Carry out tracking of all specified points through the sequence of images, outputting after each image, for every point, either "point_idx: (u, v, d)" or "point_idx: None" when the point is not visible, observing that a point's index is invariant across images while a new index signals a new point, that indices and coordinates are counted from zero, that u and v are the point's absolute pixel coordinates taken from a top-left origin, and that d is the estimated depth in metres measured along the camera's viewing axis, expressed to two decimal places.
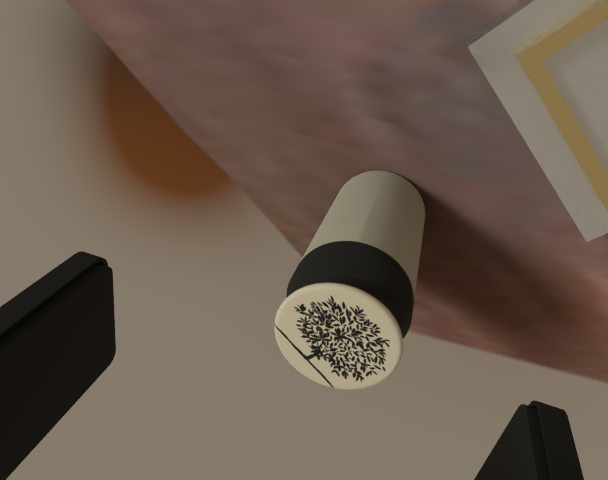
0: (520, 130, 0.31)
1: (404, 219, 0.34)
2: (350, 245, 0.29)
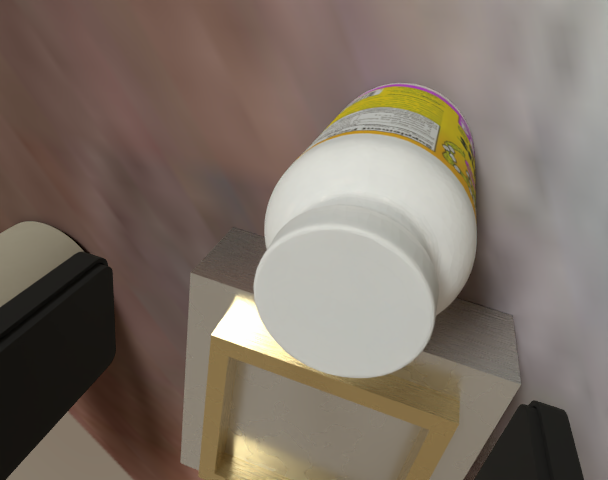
0: (187, 364, 0.27)
1: None
2: None
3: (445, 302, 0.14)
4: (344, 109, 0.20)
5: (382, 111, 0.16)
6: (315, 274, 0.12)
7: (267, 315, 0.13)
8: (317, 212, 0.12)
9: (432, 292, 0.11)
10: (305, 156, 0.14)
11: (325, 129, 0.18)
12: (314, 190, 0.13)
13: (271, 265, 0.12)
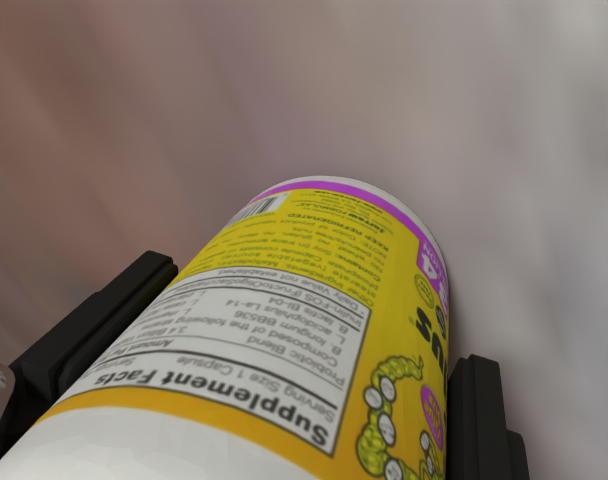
0: None
1: None
2: None
3: None
4: (225, 226, 0.12)
5: (248, 286, 0.08)
6: None
7: None
8: None
9: None
10: (8, 465, 0.06)
11: (161, 292, 0.09)
12: None
13: None
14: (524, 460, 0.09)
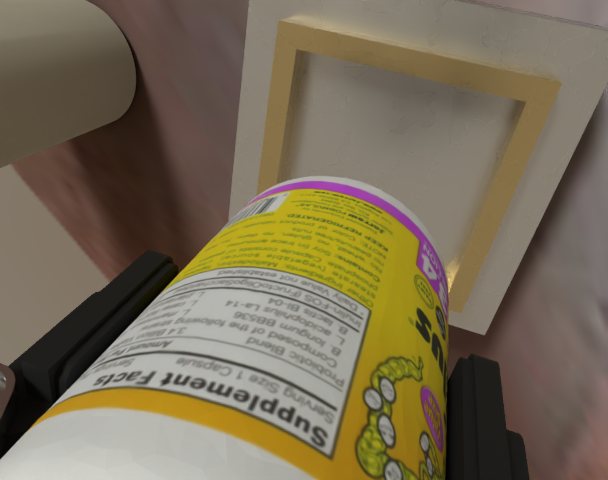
0: (241, 103, 0.25)
1: (57, 85, 0.25)
2: None
3: None
4: (225, 226, 0.12)
5: (248, 287, 0.08)
6: None
7: None
8: None
9: None
10: (6, 467, 0.05)
11: (160, 293, 0.09)
12: None
13: None
14: (524, 460, 0.09)
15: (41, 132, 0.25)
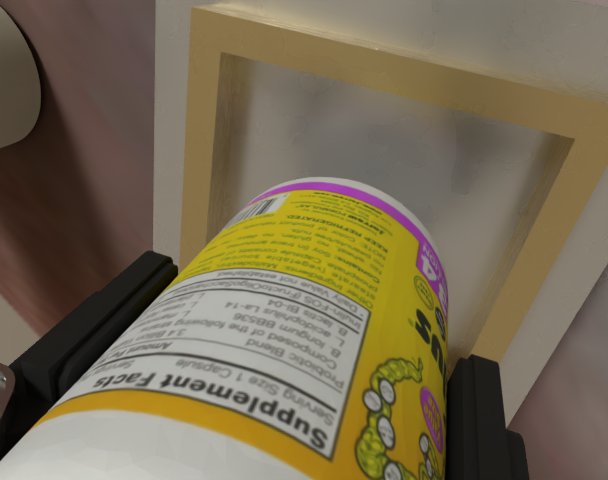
0: (156, 127, 0.17)
1: None
2: None
3: None
4: (225, 227, 0.12)
5: (248, 288, 0.08)
6: None
7: None
8: None
9: None
10: (6, 469, 0.05)
11: (160, 294, 0.09)
12: None
13: None
14: (524, 460, 0.09)
15: None
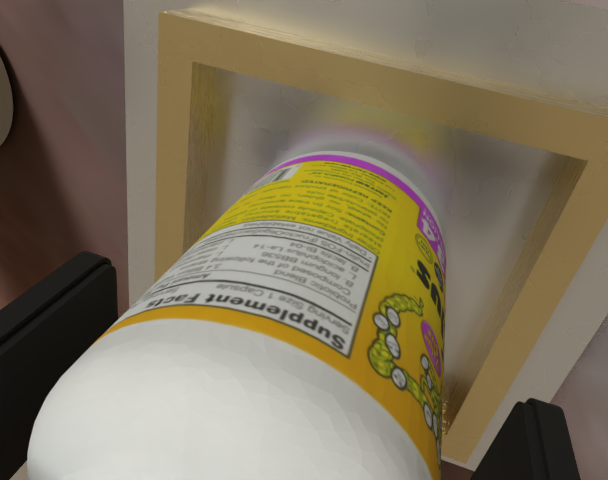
0: (128, 142, 0.16)
1: None
2: None
3: None
4: (243, 195, 0.13)
5: (272, 234, 0.09)
6: None
7: None
8: None
9: None
10: (80, 366, 0.07)
11: None
12: (77, 463, 0.06)
13: None
14: None
15: None
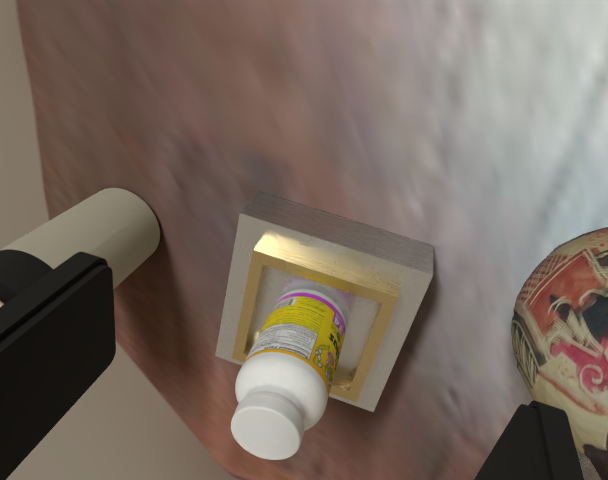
0: (229, 277, 0.42)
1: (119, 264, 0.41)
2: None
3: (313, 423, 0.33)
4: (277, 306, 0.39)
5: (291, 329, 0.35)
6: (255, 422, 0.30)
7: (236, 435, 0.31)
8: (256, 397, 0.30)
9: (298, 431, 0.30)
10: (254, 361, 0.32)
11: (265, 328, 0.36)
12: (256, 379, 0.32)
13: (238, 418, 0.30)
14: None
15: None
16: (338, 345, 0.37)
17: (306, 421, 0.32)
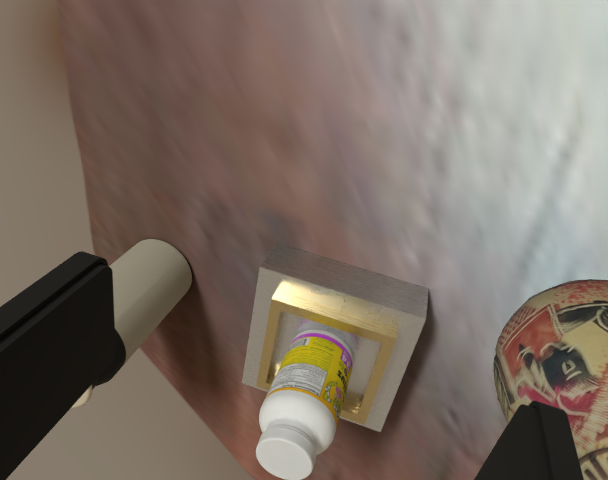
0: (252, 318, 0.48)
1: (159, 309, 0.48)
2: None
3: (324, 448, 0.39)
4: (293, 345, 0.45)
5: (304, 368, 0.41)
6: (275, 450, 0.37)
7: (260, 460, 0.38)
8: (276, 430, 0.37)
9: (311, 458, 0.36)
10: (273, 398, 0.39)
11: (283, 366, 0.43)
12: (276, 413, 0.39)
13: (261, 446, 0.37)
14: None
15: (150, 332, 0.48)
16: (345, 379, 0.43)
17: (318, 447, 0.39)
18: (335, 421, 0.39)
